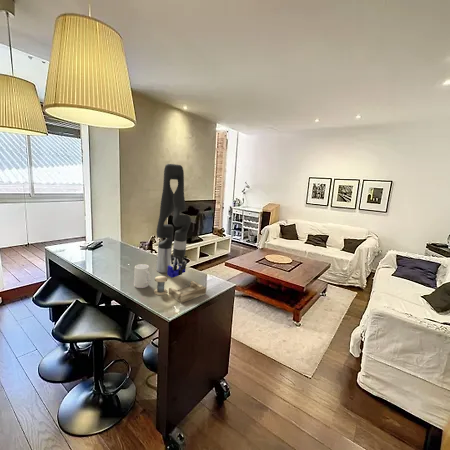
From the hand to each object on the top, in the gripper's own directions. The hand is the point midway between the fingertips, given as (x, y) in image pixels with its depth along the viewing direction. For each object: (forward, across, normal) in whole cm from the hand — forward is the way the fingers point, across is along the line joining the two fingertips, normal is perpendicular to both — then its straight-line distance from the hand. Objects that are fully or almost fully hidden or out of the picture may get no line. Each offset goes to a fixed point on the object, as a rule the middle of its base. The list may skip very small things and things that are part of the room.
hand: (177, 273), depth 155 cm
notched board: (+7, +14, -3) cm, 16 cm away
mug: (+8, -10, -17) cm, 22 cm away
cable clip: (+1, 0, 0) cm, 1 cm away
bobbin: (+8, +3, -14) cm, 16 cm away
